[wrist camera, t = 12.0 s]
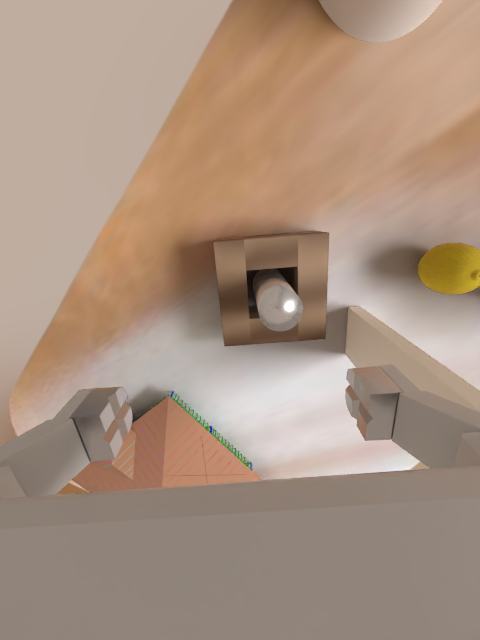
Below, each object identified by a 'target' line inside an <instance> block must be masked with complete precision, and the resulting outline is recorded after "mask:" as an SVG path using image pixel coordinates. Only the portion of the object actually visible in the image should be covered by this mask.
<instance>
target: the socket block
mask: <svg viewBox="0 0 480 640" xmlns="http://www.w3.org/2000/svg"><path fill="white" fill-rule="evenodd" d="M213 245H214V254H215V263H216V273H217V282H218V291H219V300H220V309H221V319H222V328H223V337H224V346H235V345H249V344H262V343H276V342H289V341H303V340H317V339H325V336H326V308H327V281H328V253H329V233H328V232H320V231H309V232H297V233H285V234H272V235H260V236H248V237H236V238H224V239H216V240H215V241H214V242H213ZM285 267H290V286H291V288H292V289H293V290H294V291H295V293H296V294H297V295H298V296H299V298H300V299H301V301H302V304H303V314H302V317H301V319H300V321H299V322H298V323H297V325H295V326H294V327H293V328H291V329H289V330H286V331H273V330H271V329H269V328H267V327H266V326H265V325H264V324H263V323H262V321H261V319H260V316H259V312H258V308H257V305H256V306H249V305H248V290H247V276H246V271H247V270H259V269H272V268H285Z"/></svg>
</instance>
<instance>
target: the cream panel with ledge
mask: <svg viewBox="0 0 480 640" xmlns="http://www.w3.org/2000/svg"><path fill="white" fill-rule="evenodd" d="M345 354H346V356H347V357H348V358H349V359H350V360H351V362H352V363H353V364H354V365H355V367H356V368H363V367H373V366H380V365H389V364H391V365H394V366H395V367H396V368H397V369H399V370H400V371H401V372H402V373H403V374H404V375H405V376H406V377H407V378H408V379H409V380H410V381H411V382H412V383H413V384H414V385H415V386H416V387H417V388H418V389H419V390H420V391H427V392H430V393H432V394H435V395H437V396H440V397H442V398H445V399H447V400H450V401H452V402H455V403H457V404H460V405H462V406H465V407H467V408H470V409H472V410H475V411H477V412H480V391H479V390H478V389H476V388H475V387H473V386H472V385H471V384H469V383H468V382H466V381H465V380H464V379H462V378H461V377H459V376H458V375H456V374H455V373H454V372H452V371H451V370H449V369H448V368H447V367H445V366H444V365H442V364H441V363H439V362H438V361H437V360H435V359H434V358H432V357H431V356H430V355H428V354H427V353H425V352H424V351H422V350H421V349H420V348H418V347H417V346H415V345H414V344H413V343H411V342H410V341H408V340H407V339H405V338H404V337H403V336H401V335H400V334H398V333H397V332H395V331H394V330H393V329H391V328H390V327H388V326H387V325H386V324H384V323H383V322H381V321H380V320H378V319H377V318H376V317H374V316H373V315H371V314H370V313H369V312H367V311H366V310H364V309H363V308H361V307H360V306H356V307H348V320H347V335H346V350H345Z"/></svg>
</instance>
